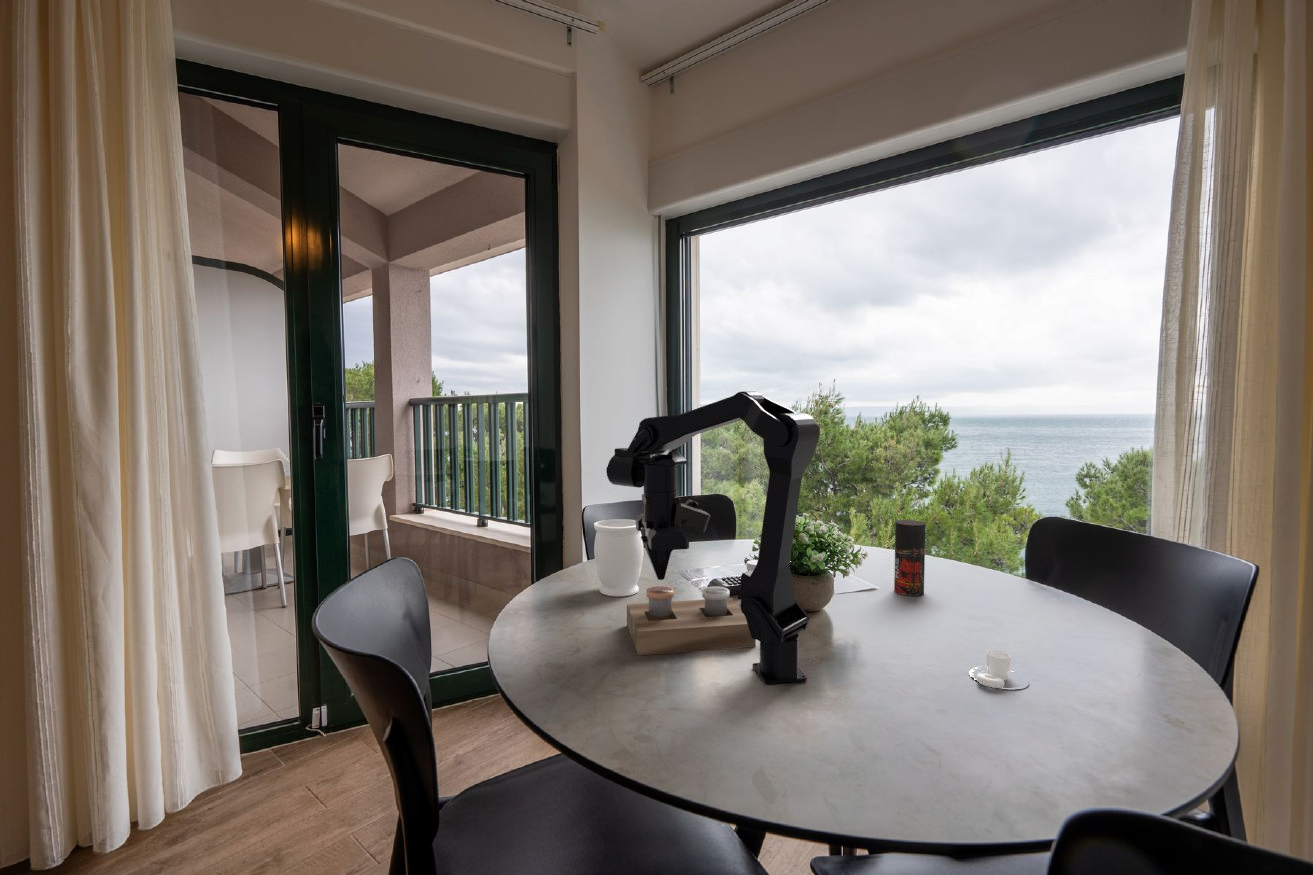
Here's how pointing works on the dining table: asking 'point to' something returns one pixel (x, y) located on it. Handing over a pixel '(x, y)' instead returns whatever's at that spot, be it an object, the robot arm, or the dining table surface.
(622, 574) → the jar
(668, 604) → the plug
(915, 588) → the deodorant
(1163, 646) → the dining table surface
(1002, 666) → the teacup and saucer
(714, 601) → the plug
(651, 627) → the wooden socket block
